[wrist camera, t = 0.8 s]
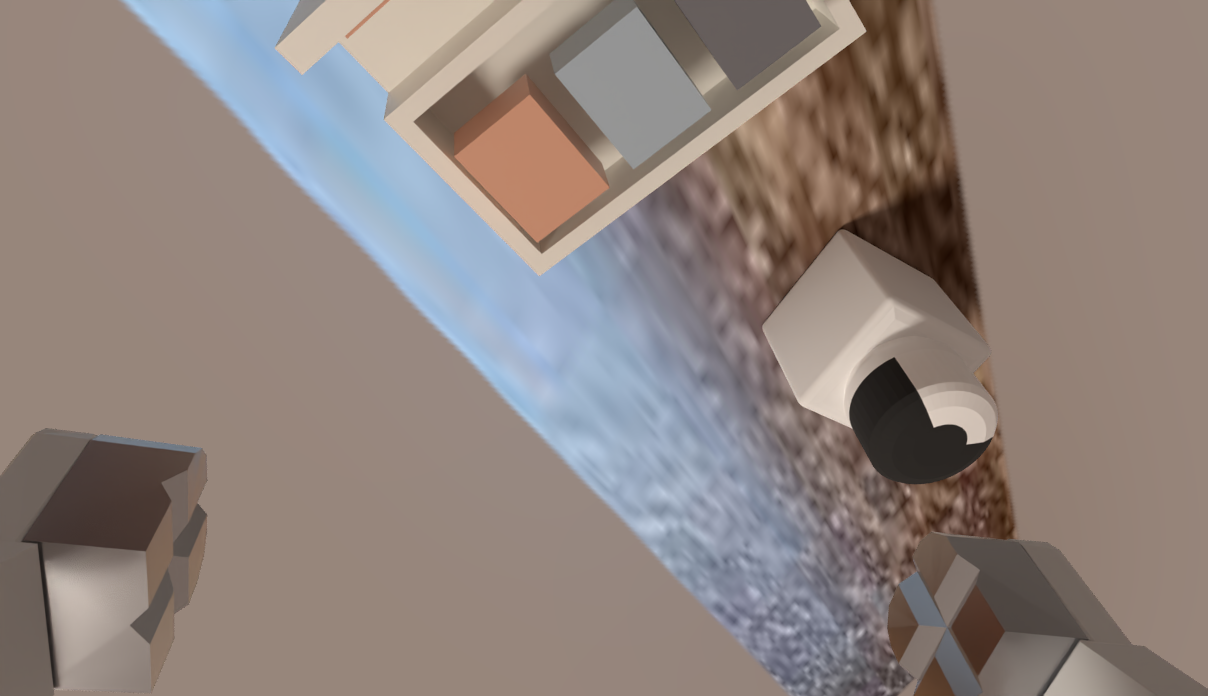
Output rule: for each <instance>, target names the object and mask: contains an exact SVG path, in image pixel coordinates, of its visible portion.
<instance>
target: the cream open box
mask: <svg viewBox="0 0 1208 696" xmlns="http://www.w3.org/2000/svg"><path fill="white" fill-rule="evenodd" d="M612 1H614V0H300V1H299V3H298V5H297V7H296V9H295V11H294V13H293V14H292V16H291V18H290V20H289V22H288V24H287V26H286V28H285V29H284V31H283V33H282V35H281V37H280V39H279V41H278V43H277V44H276V46H275V49H276V50H277V51H278V52H279V53H280V54H281V55H282V56H283V57H284V58H285V59H286V60H287V61H288V62H289V63H290V64H291V65H292V66H293V67H294V68H296V69H297V70H298V71H299V72H300V73H301V74H302V75H303V74H304V73H305V72H306V71H307V70H308V69H309V68H310V67H311V66H313V65H314V64H315V63H316V62H317V61H318V60H319V59H320V58H321V57H322V56H324V55H325V54H326V53H327V52H328V51H329V50H330V49H331V48H332V47H333V46H335V45H336V44H337V43H338V42H339V43H340V44H341V45H342V46H343V47H344V48H345V49H346V50H347V51H348V52H349V53H350V54H351V55H352V56H353V57H354V58H355V59H356V60H357V61H358V62H359V63H360V64H361V65H362V66H363V67H364V68H365V69H366V70H367V71H368V72H369V74H370V75H371V76H372V77H373V78H374V79H375V80H376V81H377V82H378V83H379V84H380V85H381V86H382V87H383V88H384V89H385V90H386V91H387V92H388V98H387V104H386V109H385V115H384V120H385V121H386V122H387V123H388V124H389V125H390V126H391V127H392V128H393V129H394V130H395V131H396V132H397V133H398V134H399V135H400V136H401V137H402V138H403V139H404V140H405V141H406V142H407V143H408V144H409V145H410V146H411V147H412V148H413V149H414V150H415V151H416V152H417V153H418V154H419V155H420V156H421V157H422V158H423V159H424V160H425V161H426V162H427V163H428V165H429V166H430V167H431V168H432V169H433V170H434V171H435V172H436V173H437V174H438V175H439V176H440V177H441V178H442V179H443V180H444V181H445V182H446V183H447V184H448V185H449V186H450V187H451V188H452V189H453V190H454V191H455V192H456V193H457V194H458V195H459V196H460V197H461V198H462V199H463V200H464V201H465V202H466V203H467V204H468V205H469V206H470V207H471V208H472V209H473V210H474V211H475V212H476V213H477V214H478V215H479V216H480V217H481V218H482V219H483V220H484V221H485V222H486V223H487V224H488V225H489V226H490V227H491V228H492V229H493V230H494V231H495V232H496V233H497V234H498V235H499V236H500V237H501V238H502V239H503V240H504V241H505V242H506V243H507V244H508V245H509V246H510V247H511V248H512V249H513V250H514V251H515V252H516V253H517V254H518V255H519V256H520V257H521V258H522V259H523V260H524V261H525V262H526V263H527V264H528V265H529V266H530V267H531V268H532V269H533V270H534V271H535V272H536V273H537V274H538V275H539V276H540V275H542V274H543V273H544V272H546V271H547V270H548V269H550V268H551V267H552V266H554V265H555V264H556V263H558V262H559V261H560V260H562V259H563V258H564V257H566V256H567V255H568V254H570V253H571V252H572V251H574V250H575V249H576V248H578V247H579V246H580V245H582V244H583V243H584V242H586V241H587V240H588V239H590V238H591V237H592V236H594V235H595V234H596V233H598V232H599V231H600V230H602V229H603V228H604V227H606V226H607V225H608V224H610V223H611V222H612V221H614V220H615V219H616V218H618V217H619V216H620V215H622V214H623V213H624V212H626V211H627V210H628V209H630V208H631V207H633V206H634V205H635V204H637V203H638V202H639V201H641V200H642V199H643V198H645V197H646V196H647V195H649V194H650V193H651V192H653V191H654V190H655V189H657V188H658V187H659V186H661V185H662V184H663V183H665V182H666V181H667V180H669V179H670V178H671V177H673V176H674V175H675V174H677V173H678V172H679V171H681V170H682V169H683V168H685V167H686V166H687V165H689V164H690V163H691V162H693V161H694V160H695V159H697V158H698V157H699V156H701V155H702V154H703V153H705V152H706V151H707V150H709V149H710V148H711V147H713V146H714V145H715V144H717V143H718V142H719V141H721V140H722V139H723V138H725V137H726V136H727V135H729V134H730V133H731V132H733V131H734V130H735V129H737V128H738V127H739V126H741V125H742V124H743V123H745V122H746V121H747V120H749V119H750V118H751V117H753V116H754V115H755V114H757V113H758V112H759V111H761V110H762V109H763V108H765V107H766V106H767V105H769V104H770V103H771V102H773V101H774V100H775V99H777V98H778V97H779V96H781V95H782V94H783V93H785V92H786V91H787V90H789V89H790V88H791V87H793V86H794V85H795V84H797V83H798V82H800V81H801V80H802V79H804V78H805V77H806V76H808V75H809V74H810V73H812V72H813V71H814V70H816V69H817V68H818V67H820V66H821V65H822V64H824V63H825V62H826V61H828V60H829V59H830V58H832V57H833V56H834V55H836V54H837V53H838V52H840V51H841V50H842V49H844V48H845V47H846V46H848V45H849V44H850V43H852V42H853V41H854V40H856V39H857V38H858V37H860V36H861V35H862V34H864V33H865V32H866V30H865V28H864V26H863V24H862V23H861V21H860V19H859V17H858V16H857V14H856V12H855V10H854V9H853V7H852V5H851V3H850V1H849V0H806V1H807V3H808V5H809V6H810V8H811V10H812V11H813V13H814V15H815V16H816V18H817V20H818V21H819V23H820V25H821V27H820V28H819V29H817V30H816V31H815V32H813V33H812V34H811V35H809V36H808V37H807V38H805V39H804V40H803V41H802V42H800V43H799V44H798V45H796V46H795V47H794V48H792V49H791V50H790V51H788V52H787V53H786V54H784V55H783V56H782V57H781V58H779V59H778V60H777V61H775V62H774V63H773V64H771V65H770V66H769V67H767V68H766V69H765V70H763V71H762V72H761V73H760V74H758V75H757V76H756V77H754V78H753V79H752V80H750V81H749V82H748V83H746V84H745V85H744V86H742V87H741V88H740V89H739V90H736V88H735V87H734V85H733V84H732V83H731V81H730V80H729V79H728V77H727V76H726V74H725V73H724V72H723V70H722V69H721V68H720V66H719V65H718V63H717V62H716V60H715V59H714V57H713V56H712V55H711V53H710V52H709V50H708V49H707V47H706V46H705V45H704V43H703V42H702V40H701V39H700V37H699V36H698V34H697V33H696V32H695V30H694V29H693V27H692V26H691V24H690V23H689V22H688V20H687V19H686V17H685V16H684V14H683V13H682V11H681V10H680V9H679V7H678V6H677V4H676V3H675V1H674V0H634V1H635V2H636V4H637V5H638V6H639V8H640V9H641V11H642V12H643V13H644V15H645V16H646V17H647V19H648V20H649V22H650V23H651V24H652V26H653V27H654V28H655V30H656V31H657V33H658V34H659V35H660V37H661V38H662V40H663V41H664V42H665V44H666V45H667V46H668V48H669V49H670V51H671V52H672V53H673V55H674V56H675V57H676V59H677V60H678V62H679V63H680V64H681V66H682V67H683V69H684V70H685V71H686V73H687V74H688V75H689V77H690V78H691V80H692V81H693V82H694V84H695V85H696V86H697V88H698V89H699V91H700V92H701V94H702V96H703V97H704V99H705V100H706V102H707V104H708V105H709V107H710V108H711V111H710V112H708V113H707V114H706V115H704V116H703V117H702V118H700V119H699V120H698V121H697V122H695V123H694V124H693V125H691V126H690V127H689V128H687V129H686V130H685V131H683V132H682V133H681V134H679V135H678V136H677V137H676V138H674V139H673V140H672V141H670V142H669V143H668V144H666V145H665V146H664V147H662V148H661V149H660V150H658V151H657V152H656V153H655V154H653V155H652V156H651V157H649V158H648V159H647V160H645V161H644V162H643V163H641V164H640V165H639V166H637V167H636V168H635V169H633V168H632V167H631V166H630V165H629V163H628V162H627V161H626V160H625V159H624V157H623V156H622V155H621V154H620V153H619V151H618V150H617V149H616V148H615V146H614V145H613V144H612V143H611V142H610V140H609V139H608V138H607V137H606V136H605V134H604V133H603V132H602V131H601V130H600V128H599V127H598V126H597V125H596V124H595V122H594V121H593V120H592V119H591V117H590V116H589V115H588V114H587V113H586V111H585V110H584V109H583V108H582V107H581V105H580V104H579V103H578V102H577V101H576V99H575V98H574V97H573V96H572V94H571V93H570V92H569V91H568V90H567V88H566V87H565V86H564V85H563V84H562V82H561V81H560V80H559V79H558V78H557V76H556V75H555V73H554V70H553V66H552V62H551V59H550V55H549V54H550V53H551V52H552V51H553V50H555V49H556V48H557V47H558V46H559V45H561V44H562V43H563V42H564V41H565V40H567V39H568V38H569V37H570V36H571V35H573V34H574V33H575V32H576V31H577V30H579V29H580V28H581V27H582V26H583V25H585V24H586V23H587V22H588V21H589V20H591V19H592V18H593V17H594V16H595V15H597V14H598V13H599V12H600V11H602V10H603V9H604V8H605V7H606V6H608V5H609V4H610V3H611V2H612ZM524 74H527V75H528V77H529V78H530V79H531V80H532V81H533V82H534V84H535V85H536V86H537V87H538V88H539V90H540V91H541V92H542V93H543V94H544V95H545V97H546V98H547V99H548V100H549V101H550V103H551V104H552V105H553V106H554V107H555V108H556V110H557V111H558V112H559V113H560V114H561V115H562V117H563V118H564V119H565V120H566V121H567V123H568V124H569V125H570V126H571V127H572V128H573V130H574V131H575V132H576V133H577V134H578V136H579V137H580V138H581V139H582V140H583V141H584V143H585V144H586V145H587V146H588V147H589V148H590V150H591V151H592V152H593V153H594V154H595V156H596V157H597V158H598V159H599V160H600V161H601V163H602V165H603V168H604V171H605V174H606V177H607V180H608V184H609V187H610V188H609V189H607V190H606V191H605V192H603V193H602V194H601V195H599V196H598V197H597V198H595V199H594V200H593V201H592V202H590V203H589V204H588V205H586V206H585V207H584V208H582V209H581V210H580V211H578V212H577V213H576V214H574V215H573V216H572V217H571V218H569V219H568V220H567V221H565V222H564V223H563V224H561V225H560V226H559V227H557V228H556V229H555V230H553V231H552V232H551V233H550V234H548V235H547V236H546V237H544V238H543V239H542V240H540V241H539V242H538V243H537V242H536V241H535V240H534V239H533V238H532V237H531V236H530V235H529V234H528V233H527V232H526V231H525V230H524V229H523V228H522V227H521V226H520V225H519V223H518V222H517V221H516V220H515V219H514V218H513V217H512V216H511V215H510V214H509V213H508V212H507V211H506V210H505V209H504V208H503V207H502V206H501V205H500V204H499V203H498V202H497V201H496V200H495V199H494V198H493V197H492V196H491V194H490V193H489V192H488V191H487V190H486V189H485V188H484V187H483V186H482V185H481V184H480V183H479V182H478V181H477V180H476V179H475V178H474V177H473V176H472V175H471V174H470V173H469V172H468V171H467V170H466V169H465V168H464V166H463V165H462V164H461V163H460V162H459V161H458V160H457V159H456V158H455V157H454V133H455V132H456V131H457V130H458V129H459V128H461V127H462V126H463V125H464V124H465V123H467V122H468V121H469V120H470V119H472V118H473V117H474V116H475V115H476V114H478V113H479V112H480V111H481V110H482V109H484V108H485V107H486V106H487V105H488V104H490V103H491V102H492V101H493V100H494V99H496V98H497V97H498V96H499V95H500V94H502V93H503V92H504V91H505V90H506V89H508V88H509V87H510V86H511V85H512V84H514V83H515V82H516V81H517V80H518V79H520V78H521V77H522V76H523V75H524Z"/></svg>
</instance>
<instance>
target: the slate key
mask: <svg viewBox="0 0 1208 696" xmlns="http://www.w3.org/2000/svg"><path fill="white" fill-rule="evenodd" d="M549 55H550V59H551V62H552V66H553V70H554V73H555V75H556V76H557V78H558V79H559V80H560V81H561V82H562V84H563V85H564V86H565V87H566V88H567V90H568V91H569V92H570V93H571V94H572V96H573V97H574V98H575V99H576V101H577V102H578V103H579V104H580V105H581V107H582V108H583V109H584V110H585V111H586V113H587V114H588V115H589V116H590V117H591V119H592V120H593V121H594V122H595V124H596V125H597V126H598V127H599V128H600V130H601V131H602V132H603V133H604V134H605V136H606V137H607V138H608V139H609V140H610V142H611V143H612V144H613V145H614V146H615V148H616V149H617V150H618V151H619V153H620V154H621V155H622V156H623V157H624V159H625V160H626V161H627V162H628V163H629V165H630V166H631V167H632V168H633V169H635V168H636V167H637V166H639V165H640V164H641V163H643V162H644V161H645V160H647V159H648V158H649V157H651V156H652V155H653V154H655V153H656V152H657V151H658V150H660V149H661V148H662V147H664V146H665V145H666V144H668V143H669V142H670V141H672V140H673V139H674V138H676V137H677V136H678V135H679V134H681V133H682V132H683V131H685V130H686V129H687V128H689V127H690V126H691V125H693V124H694V123H695V122H697V121H698V120H699V119H700V118H702V117H703V116H704V115H706V114H707V113H708V112H710V111H711V108H710V107H709V105H708V104H707V102H706V100H705V99H704V97H703V96H702V94H701V92H700V91H699V89H698V88H697V86H696V85H695V84H694V82H693V81H692V80H691V78H690V77H689V75H688V74H687V73H686V71H685V70H684V69H683V67H682V66H681V64H680V63H679V62H678V60H677V59H676V57H675V56H674V55H673V53H672V52H671V51H670V49H669V48H668V46H667V45H666V44H665V42H664V41H663V40H662V38H661V37H660V35H659V34H658V33H657V31H656V30H655V28H654V27H653V26H652V24H651V23H650V22H649V20H648V19H647V17H646V16H645V15H644V13H643V12H642V11H641V9H640V8H639V6H638V5H637V4H636V2H635V1H634V0H614V1H612V2H611V3H610V4H609V5H608V6H606V7H605V8H604V9H603V10H602V11H600V12H599V13H598V14H597V15H595V16H594V17H593V18H592V19H591V20H589V21H588V22H587V23H586V24H585V25H583V26H582V27H581V28H580V29H579V30H577V31H576V32H575V33H574V34H573V35H571V36H570V37H569V38H568V39H567V40H565V41H564V42H563V43H562V44H561V45H559V46H558V47H557V48H556V49H555V50H553V51H552V52H551V53H550V54H549Z"/></svg>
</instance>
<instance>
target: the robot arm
mask: <svg viewBox="0 0 1208 696" xmlns="http://www.w3.org/2000/svg"><path fill="white" fill-rule="evenodd" d="M206 482H207V456H206V454H205V452H204V450H203V449H202V448H197V447H189V446H182V445H175V444H167V443H160V442H152V441H145V440H138V439H130V438H123V437H116V436H108V435H99V436H98V435H95V434H89V433H81V432H73V431H65V430H57V429H49V428H45V429H43V430H41V431H39V432H36V433H35V434H33V435H32V436H31V437H30V439H29V440H28V441H27V442H26V444H25V445H24V446H23V448H22V449H21V450H20V451H19V453H18V454H17V455H16V456H15V458H14V459H13V460H12V461H11V463H10V464H9V465H8V466H7V468H6V469H5V470H4V472H3V473H2V474H1V475H0V696H53V695H54V690H78V691H104V692H129V693H152V691H153V688H154V686H155V683H156V681H157V679H158V676H159V674H160V672H161V669H162V667H163V664H164V662H165V660H166V657H167V655H168V652H169V650H170V648H171V646H172V643H173V640H174V614H175V613H176V612H178V611H179V610H181V609H182V608H184V607H185V606H187V605H188V604H189V602H190V599H191V597H192V594H193V592H194V589H195V587H196V584H197V581H198V577H199V573H200V569H201V565H202V561H203V557H204V552H205V551H204V550H205V543H206V535H207V514H206V513H205V511H204V510H203V509H202V508H201V507H200V505H199V504H198V500H199V498H200V496H201V494H202V491H203V489H204V487H205V484H206ZM913 560H914V563H915V567H916V570H917V572H916V573H915V574H913V575H912V576H910V577H909V578H907V579H906V580H904V581H903V582H901V583H900V584H898V586H897V589H896V591H895V593H894V595H893V598H892V600H891V602H890V604H889V612H888V625H887V629H888V634H889V640H890V645H891V648H892V650H893V652H894V654H895V657H896V659H897V661H898V664H899V665H901V666H902V667H903V668H904V669H905V670H906V671H907V672H909V673H910V674H911V675H912V676H913V677H914V678H916V679H917V680H918V682H917V685H916V689H915V692H914V696H1208V689H1207V688H1206V687H1204V686H1203V685H1201V684H1200V683H1198V682H1197V681H1195V680H1194V679H1192V678H1191V677H1189V676H1188V675H1186V674H1185V673H1183V672H1182V671H1180V670H1179V669H1177V668H1176V667H1174V666H1173V665H1171V664H1170V663H1168V662H1167V661H1166V660H1164V659H1162V658H1161V657H1160V656H1158V655H1157V654H1155V653H1154V652H1152V651H1151V650H1149V649H1148V648H1146V647H1145V646H1137V645H1132V644H1131V642H1130V641H1129V640H1128V638H1127V637H1126V636H1125V634H1124V633H1123V632H1122V631H1121V629H1120V628H1119V627H1118V626H1117V624H1116V623H1115V621H1114V620H1113V619H1112V617H1111V616H1110V615H1109V614H1108V612H1107V611H1106V610H1105V608H1104V607H1103V606H1102V604H1101V603H1100V602H1099V601H1098V599H1097V598H1096V597H1095V595H1094V594H1093V593H1092V591H1091V590H1090V589H1089V587H1088V586H1087V585H1086V584H1085V582H1084V581H1083V580H1082V578H1081V577H1080V576H1079V574H1078V573H1077V572H1076V570H1075V569H1074V568H1073V567H1072V565H1071V564H1070V563H1069V561H1068V560H1067V559H1066V557H1065V556H1064V555H1063V554H1062V552H1061V551H1060V550H1059V549H1057V548H1056V547H1054V546H1052V545H1051V544H1049V543H1047V542H1036V541H1025V540H1015V539H1008V540H1002V539H992V538H983V537H974V536H965V535H956V534H946V533H937V532H931V533H929V534H928V535H927V536H926V537H925V538H923V539H922V540H921V541H920V543H919V545H918V547H917V549H916V551H915V553H914V555H913Z"/></svg>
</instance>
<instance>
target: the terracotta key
mask: <svg viewBox="0 0 1208 696" xmlns="http://www.w3.org/2000/svg"><path fill="white" fill-rule="evenodd" d="M454 157H455V158H456V159H457V160H458V161H459V162H460V163H461V164H462V165H463V166H464V168H465V169H466V170H467V171H468V172H469V173H470V174H471V175H472V176H473V177H474V178H475V179H476V180H477V181H478V182H479V183H480V184H481V185H482V186H483V187H484V188H485V189H486V190H487V191H488V192H489V193H490V194H491V196H492V197H493V198H494V199H495V200H496V201H497V202H498V203H499V204H500V205H501V206H502V207H503V208H504V209H505V210H506V211H507V212H508V213H509V214H510V215H511V216H512V217H513V218H514V219H515V220H516V221H517V222H518V223H519V225H520V226H521V227H522V228H523V229H524V230H525V231H526V232H527V233H528V234H529V235H530V236H531V237H532V238H533V239H534V240H535V241H536V242H537V243H538V242H539V241H540V240H542V239H543V238H544V237H546V236H547V235H548V234H550V233H551V232H552V231H553V230H555V229H556V228H557V227H559V226H560V225H561V224H563V223H564V222H565V221H567V220H568V219H569V218H571V217H572V216H573V215H574V214H576V213H577V212H578V211H580V210H581V209H582V208H584V207H585V206H586V205H588V204H589V203H590V202H592V201H593V200H594V199H595V198H597V197H598V196H599V195H601V194H602V193H603V192H605V191H606V190H607V189H609V188H610V187H609V184H608V180H607V177H606V174H605V171H604V168H603V165H602V163H601V161H600V160H599V159H598V158H597V157H596V156H595V154H594V153H593V152H592V151H591V150H590V148H589V147H588V146H587V145H586V144H585V143H584V141H583V140H582V139H581V138H580V137H579V136H578V134H577V133H576V132H575V131H574V130H573V128H572V127H571V126H570V125H569V124H568V123H567V121H566V120H565V119H564V118H563V117H562V115H561V114H560V113H559V112H558V111H557V110H556V108H555V107H554V106H553V105H552V104H551V103H550V101H549V100H548V99H547V98H546V97H545V95H544V94H543V93H542V92H541V91H540V90H539V88H538V87H537V86H536V85H535V84H534V82H533V81H532V80H531V79H530V78H529V77H528V75H527V74H524V75H523V76H522V77H521V78H520V79H518V80H517V81H516V82H515V83H514V84H512V85H511V86H510V87H509V88H508V89H506V90H505V91H504V92H503V93H502V94H500V95H499V96H498V97H497V98H496V99H494V100H493V101H492V102H491V103H490V104H488V105H487V106H486V107H485V108H484V109H482V110H481V111H480V112H479V113H478V114H476V115H475V116H474V117H473V118H472V119H470V120H469V121H468V122H467V123H465V124H464V125H463V126H462V127H461V128H459V129H458V130H457V131H456V132H455V133H454Z"/></svg>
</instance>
